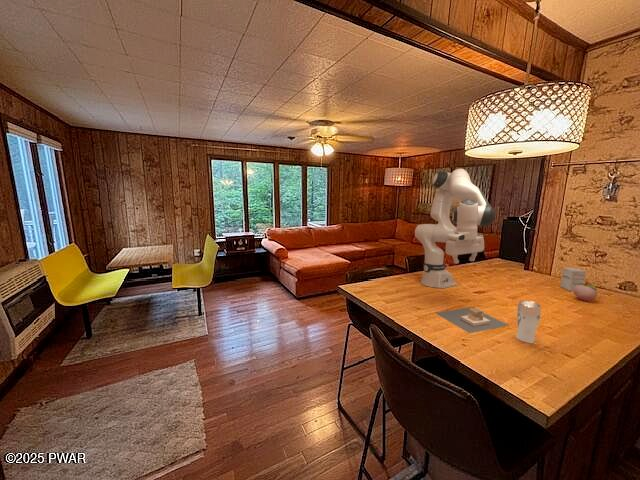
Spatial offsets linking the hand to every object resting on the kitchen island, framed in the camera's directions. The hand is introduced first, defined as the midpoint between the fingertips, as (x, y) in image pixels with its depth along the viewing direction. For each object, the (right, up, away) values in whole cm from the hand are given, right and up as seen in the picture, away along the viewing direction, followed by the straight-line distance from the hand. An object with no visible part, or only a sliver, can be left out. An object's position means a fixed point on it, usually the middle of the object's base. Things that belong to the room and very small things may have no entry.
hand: (464, 262), depth 127 cm
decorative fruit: (+72, -22, +13) cm, 76 cm away
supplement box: (+82, -19, +30) cm, 90 cm away
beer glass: (+10, -29, -26) cm, 40 cm away
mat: (-2, -26, -9) cm, 27 cm away
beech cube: (-2, -24, -12) cm, 27 cm away
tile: (+3, -25, -10) cm, 27 cm away
